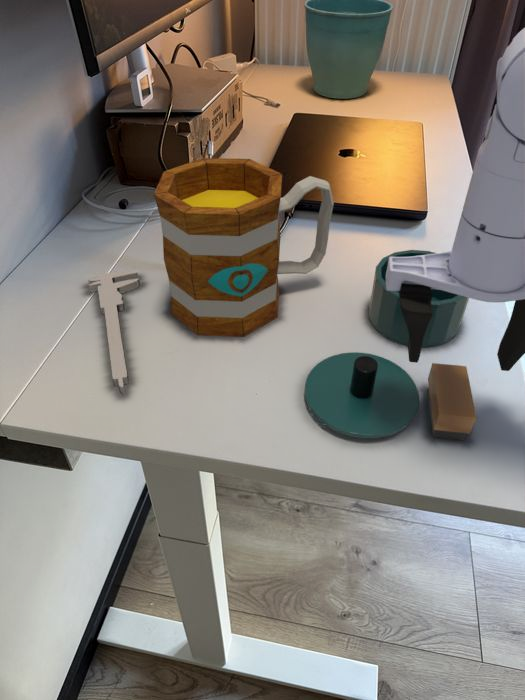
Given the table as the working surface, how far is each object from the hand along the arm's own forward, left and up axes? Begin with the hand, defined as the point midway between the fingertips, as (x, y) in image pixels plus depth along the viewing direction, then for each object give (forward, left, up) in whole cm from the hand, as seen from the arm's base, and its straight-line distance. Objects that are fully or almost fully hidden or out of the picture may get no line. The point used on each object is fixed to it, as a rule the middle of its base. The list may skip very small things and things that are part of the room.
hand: (457, 358), depth 47 cm
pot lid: (+8, -1, -7) cm, 10 cm away
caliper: (+33, -8, -7) cm, 34 cm away
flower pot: (+12, -95, -7) cm, 96 cm away
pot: (+1, -14, -7) cm, 16 cm away
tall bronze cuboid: (-1, 0, -7) cm, 7 cm away
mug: (+21, -16, -7) cm, 27 cm away
